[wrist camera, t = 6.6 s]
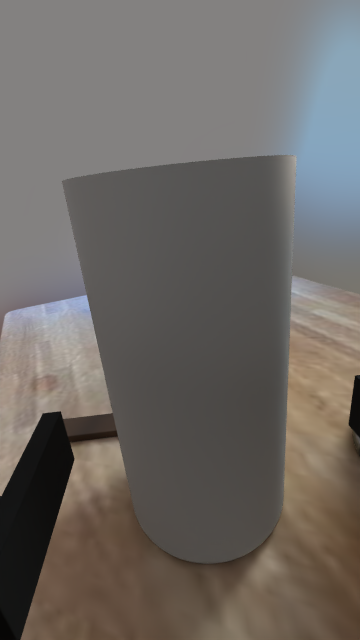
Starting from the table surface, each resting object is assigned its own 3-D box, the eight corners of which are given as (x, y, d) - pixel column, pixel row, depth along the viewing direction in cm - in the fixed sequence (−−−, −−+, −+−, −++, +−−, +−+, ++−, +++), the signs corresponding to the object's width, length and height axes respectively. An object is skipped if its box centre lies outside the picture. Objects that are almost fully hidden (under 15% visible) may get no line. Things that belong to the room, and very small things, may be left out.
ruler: (264, 400, 38) (264, 394, 38) (273, 416, 35) (273, 410, 35) (61, 425, 37) (59, 419, 37) (53, 444, 35) (51, 437, 34)
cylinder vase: (243, 425, 34) (236, 168, 25) (317, 537, 23) (356, 147, 14) (127, 455, 32) (70, 185, 22) (146, 597, 21) (47, 175, 11)
